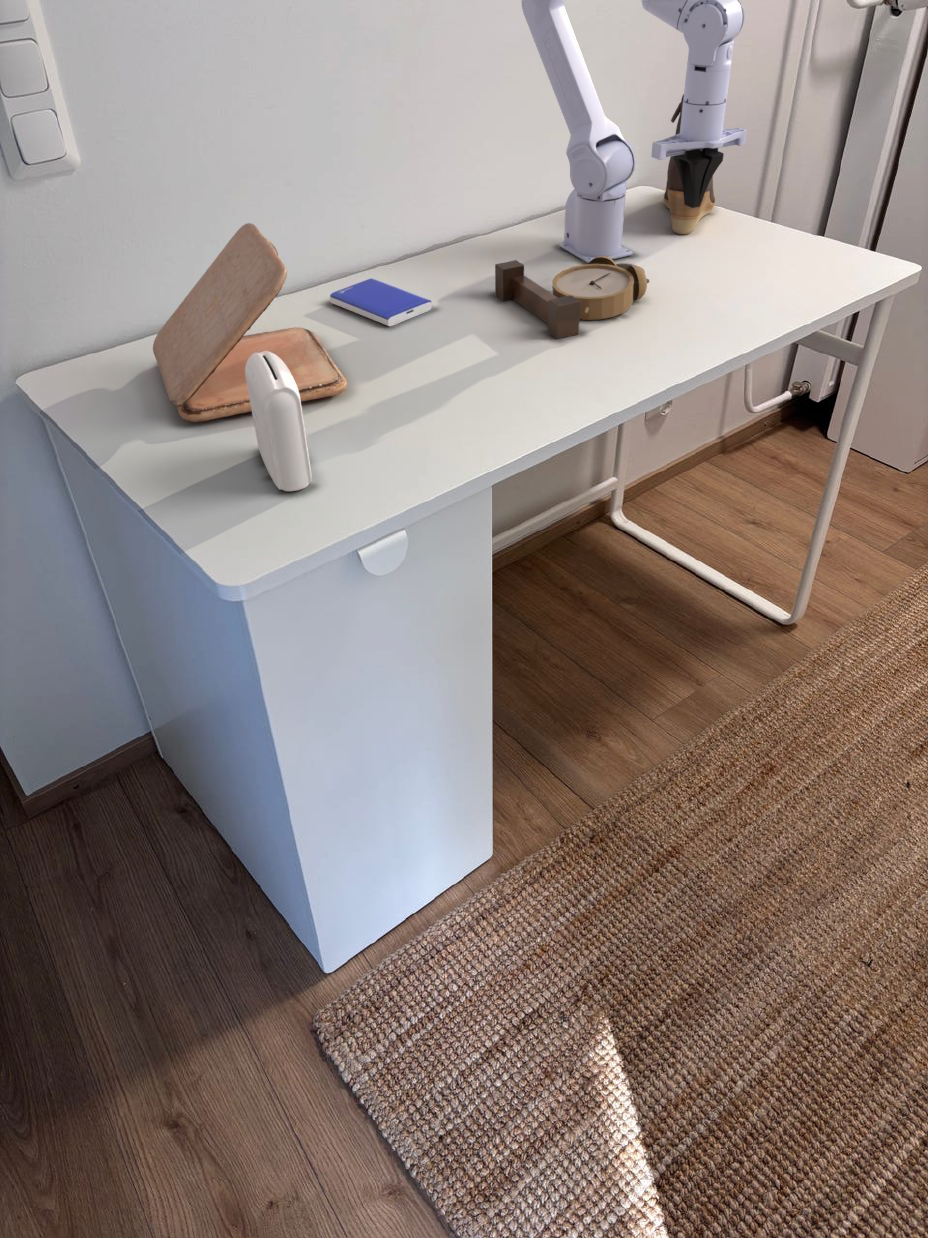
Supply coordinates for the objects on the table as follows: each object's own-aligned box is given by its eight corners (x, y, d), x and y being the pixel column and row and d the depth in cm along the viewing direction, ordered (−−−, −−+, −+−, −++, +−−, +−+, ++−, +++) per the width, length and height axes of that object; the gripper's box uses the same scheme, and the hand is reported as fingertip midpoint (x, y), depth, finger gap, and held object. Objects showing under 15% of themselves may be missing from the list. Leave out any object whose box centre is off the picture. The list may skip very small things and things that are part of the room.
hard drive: (329, 293, 139) (387, 316, 132) (372, 276, 143) (431, 298, 136) (330, 304, 140) (388, 327, 133) (373, 287, 144) (432, 309, 137)
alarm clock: (533, 285, 135) (604, 239, 141) (537, 317, 139) (606, 270, 145) (595, 307, 129) (667, 257, 135) (597, 340, 133) (667, 290, 138)
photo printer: (255, 450, 108) (236, 344, 100) (293, 442, 109) (277, 337, 101) (277, 497, 101) (257, 386, 93) (317, 487, 102) (301, 377, 94)
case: (154, 360, 127) (124, 234, 116) (312, 333, 132) (296, 209, 122) (176, 431, 112) (143, 294, 102) (353, 397, 117) (339, 263, 107)
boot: (714, 193, 174) (731, 66, 162) (713, 239, 156) (731, 100, 144) (664, 192, 176) (677, 65, 163) (657, 237, 158) (671, 99, 145)
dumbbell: (495, 295, 141) (494, 263, 138) (516, 290, 142) (516, 259, 139) (556, 339, 129) (557, 305, 126) (579, 333, 130) (581, 300, 127)
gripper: (678, 113, 126) (666, 221, 135) (767, 99, 131) (750, 204, 140) (646, 102, 131) (637, 207, 140) (733, 89, 136) (719, 191, 145)
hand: (692, 205), depth 140 cm, fingers closed
